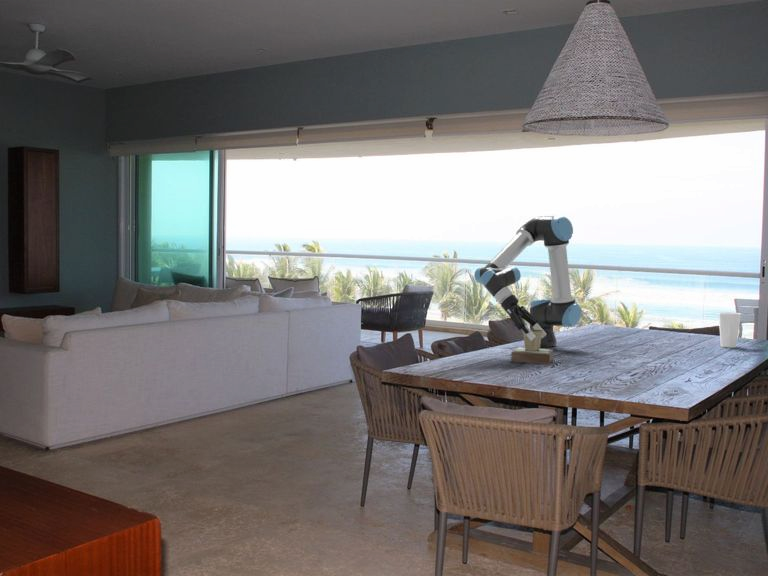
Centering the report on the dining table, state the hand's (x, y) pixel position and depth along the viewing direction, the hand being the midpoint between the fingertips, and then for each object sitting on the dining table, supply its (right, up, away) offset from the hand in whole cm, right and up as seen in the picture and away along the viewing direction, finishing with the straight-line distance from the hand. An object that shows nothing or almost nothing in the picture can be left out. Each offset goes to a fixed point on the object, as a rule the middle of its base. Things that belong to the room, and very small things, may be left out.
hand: (539, 337), depth 341 cm
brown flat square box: (-3, -10, +2) cm, 11 cm away
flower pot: (-3, -6, +2) cm, 7 cm away
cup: (+107, -9, +59) cm, 123 cm away
